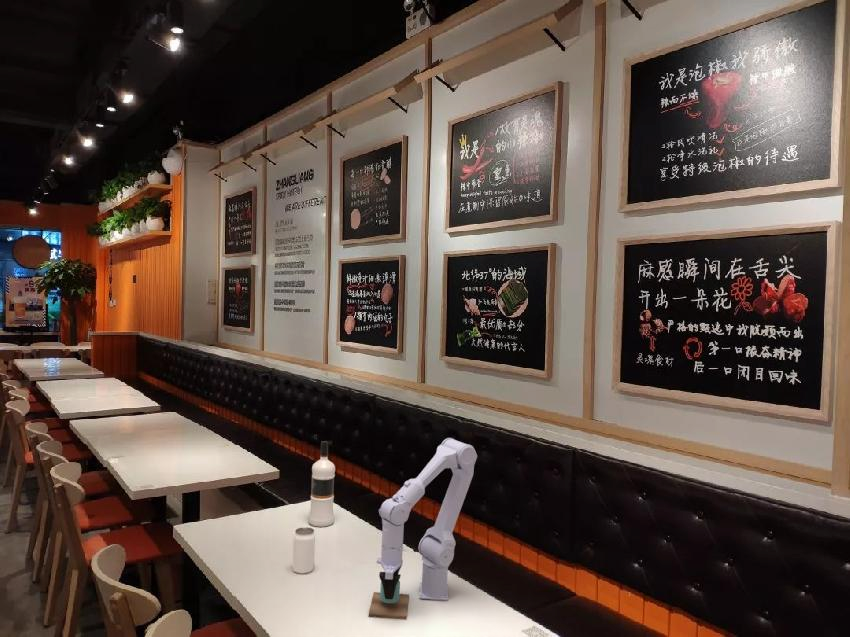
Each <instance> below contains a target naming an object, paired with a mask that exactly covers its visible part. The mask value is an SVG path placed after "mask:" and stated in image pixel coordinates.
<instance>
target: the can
mask: <svg viewBox="0 0 850 637" xmlns="http://www.w3.org/2000/svg"><path fill="white" fill-rule="evenodd" d="M294 531H295V533H294V535H293V541H292V542H293V544H292V546H293V547H292V548H293V549H292V567H291V568H292V571H293V572H294V573H296V574H299V575H303V574H310V573H311V572H313V570H314V568H315V553H316V552H315V550H316V534H315V530H314V528H312V527H309V526H308V527H305V526H304V527H298V528H296V530H294Z"/></svg>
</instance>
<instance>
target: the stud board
mask: <svg viewBox="0 0 850 637" xmlns="http://www.w3.org/2000/svg"><path fill="white" fill-rule="evenodd" d="M409 599H410V594H408V593H407V594H406V593H400V596H399V601H397V602H395V603H385V602H382V601H381V600H380V591H379V592H377V591H374V592H373V594H372V598H371V601H370V602H371V603H370V605H369V611H368V615H367V616H368V618H379V619H380V618H381V619H394V620H407V616H408V609H409V608H408V607H409Z"/></svg>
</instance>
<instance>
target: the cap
mask: <svg viewBox="0 0 850 637" xmlns="http://www.w3.org/2000/svg"><path fill="white" fill-rule="evenodd" d="M379 590H380V591H379V592H380V600H381V601H382V602H385V603H395V602H397V601H399V596H400V594H401V593H400V591H401V581H400V580H399V581H398V583H397V585H396V588H395V593H394V597H393V599H385V596H384V589H383V584H382V582H381V581H380V588H379Z"/></svg>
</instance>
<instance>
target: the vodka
mask: <svg viewBox="0 0 850 637" xmlns="http://www.w3.org/2000/svg"><path fill="white" fill-rule="evenodd" d="M328 456H329V441H327V440H324V441H321V442H320V459H318V460H317V461H315V462H314V463H313V464H312V467H311V490H310V491H311V494H310V508H309V509H310V510H309V515H308V521H307V522H308V524H310V525H311V526H314V527H316V526H317V527H316V528H324V527H329V526H331V525H332V524H334V522H335V515H334V514H335V513H334V498H335V495H334V490H335V489H334V488H335V487H334V485H335V476H336V474H335V472H336V465H335V464H334V462H332V461H330V460H329V459H328Z"/></svg>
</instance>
